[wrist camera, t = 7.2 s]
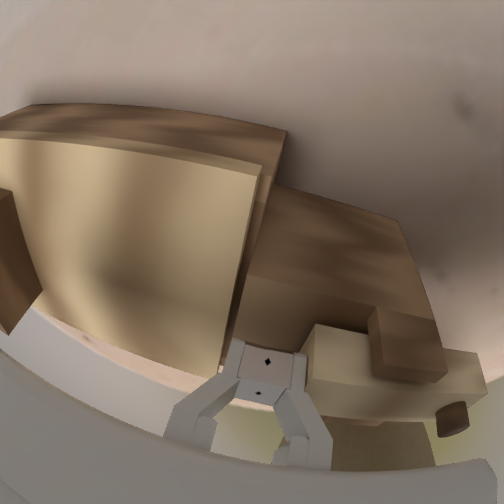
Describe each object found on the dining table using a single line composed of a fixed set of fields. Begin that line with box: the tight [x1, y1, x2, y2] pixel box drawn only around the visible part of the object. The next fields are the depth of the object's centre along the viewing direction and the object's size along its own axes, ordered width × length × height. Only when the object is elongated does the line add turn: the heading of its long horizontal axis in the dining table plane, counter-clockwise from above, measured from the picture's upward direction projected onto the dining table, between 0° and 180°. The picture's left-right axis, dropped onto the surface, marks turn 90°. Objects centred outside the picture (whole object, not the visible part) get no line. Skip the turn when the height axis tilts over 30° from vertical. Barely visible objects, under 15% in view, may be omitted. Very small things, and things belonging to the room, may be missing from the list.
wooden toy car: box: [299, 324, 488, 438], centre depth 10 cm, size 9×3×4 cm, turn 79°
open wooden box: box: [0, 104, 448, 426], centre depth 14 cm, size 28×12×11 cm, turn 79°
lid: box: [0, 131, 262, 379], centre depth 12 cm, size 21×13×6 cm, turn 79°
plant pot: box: [271, 415, 436, 472], centre depth 20 cm, size 15×15×16 cm
